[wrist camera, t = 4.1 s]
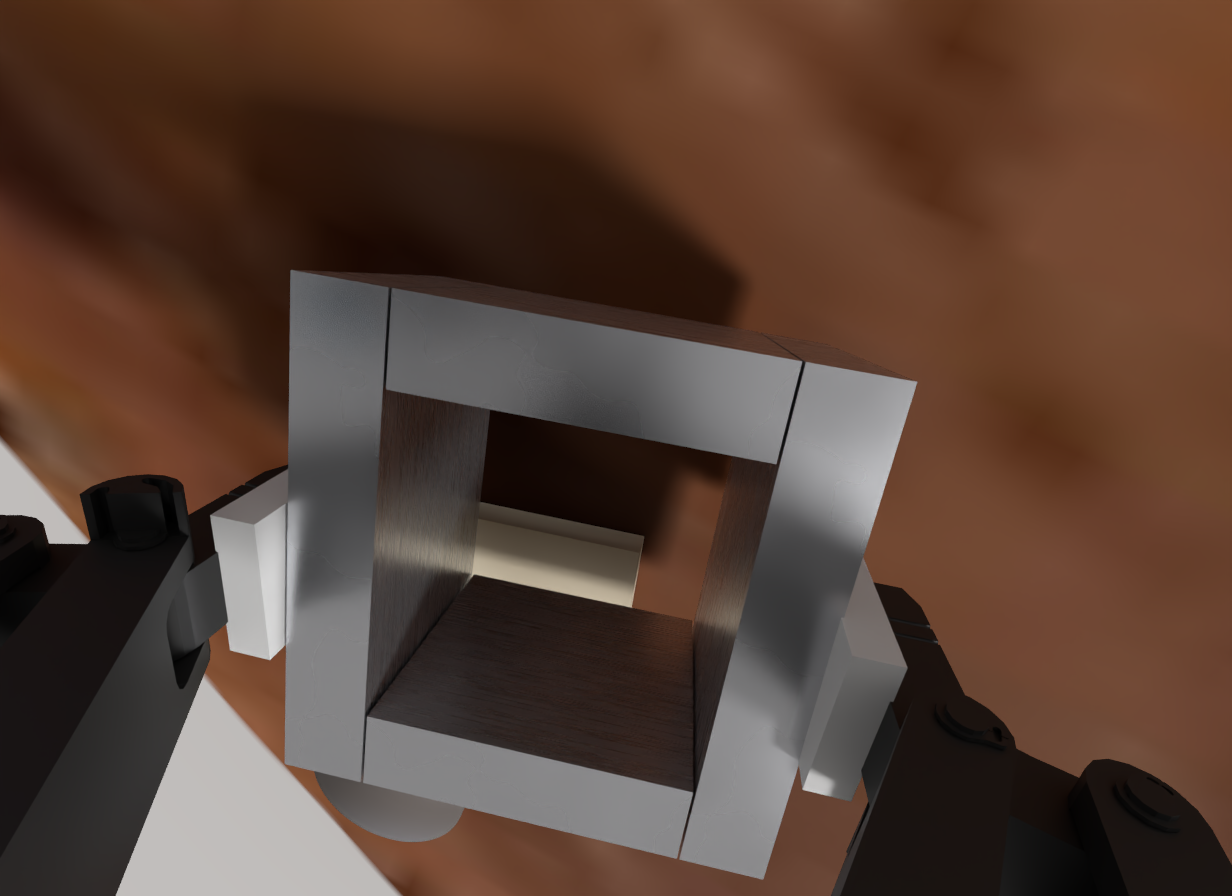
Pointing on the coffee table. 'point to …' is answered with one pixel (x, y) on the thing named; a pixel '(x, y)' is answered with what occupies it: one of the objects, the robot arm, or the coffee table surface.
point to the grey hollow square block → (552, 621)
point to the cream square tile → (516, 555)
